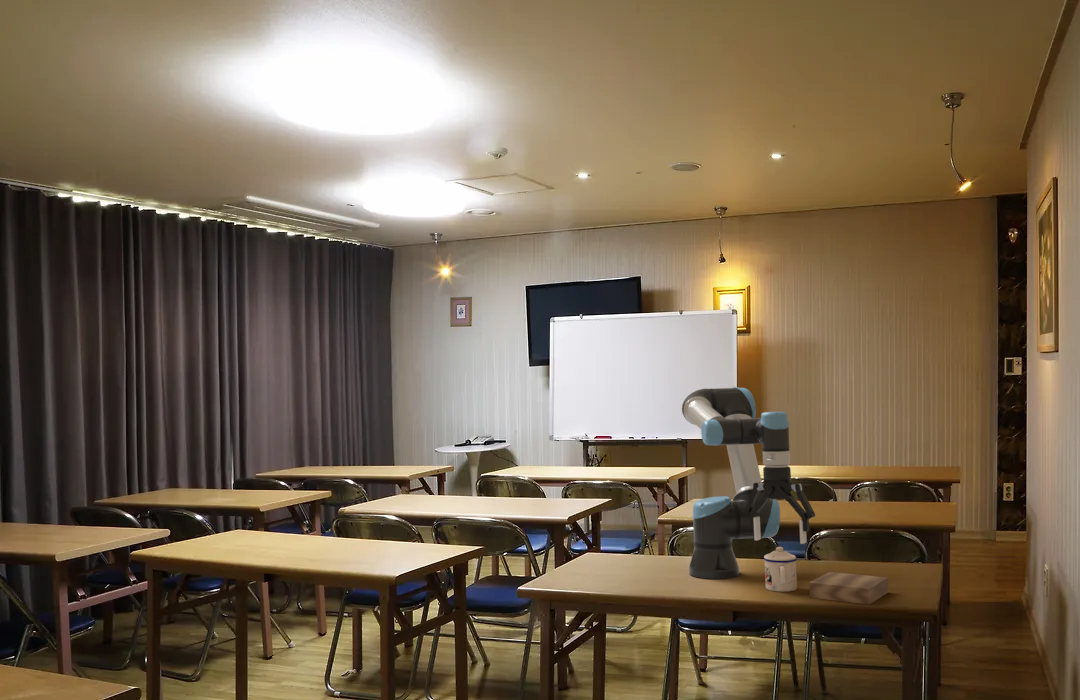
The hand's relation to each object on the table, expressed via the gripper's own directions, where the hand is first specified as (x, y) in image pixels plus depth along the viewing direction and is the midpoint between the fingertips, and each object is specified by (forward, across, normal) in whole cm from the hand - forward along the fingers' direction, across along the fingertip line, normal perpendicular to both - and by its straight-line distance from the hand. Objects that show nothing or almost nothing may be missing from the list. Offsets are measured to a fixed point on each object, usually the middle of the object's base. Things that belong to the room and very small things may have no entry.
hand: (780, 541), depth 254 cm
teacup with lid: (+14, 0, 0) cm, 14 cm away
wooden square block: (+14, +18, +3) cm, 23 cm away
